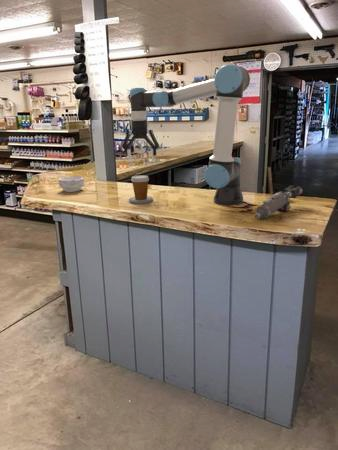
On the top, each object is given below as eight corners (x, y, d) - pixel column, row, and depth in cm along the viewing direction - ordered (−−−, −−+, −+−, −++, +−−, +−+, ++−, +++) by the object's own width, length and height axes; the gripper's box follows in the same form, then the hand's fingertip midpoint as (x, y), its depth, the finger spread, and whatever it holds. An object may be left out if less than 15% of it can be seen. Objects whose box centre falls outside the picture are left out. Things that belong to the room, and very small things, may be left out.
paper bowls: (87, 188, 238) (86, 175, 236) (80, 193, 224) (78, 180, 221) (65, 188, 240) (63, 176, 237) (56, 193, 225) (54, 180, 223)
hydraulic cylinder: (303, 201, 180) (303, 181, 176) (263, 230, 158) (262, 209, 154) (289, 198, 185) (289, 179, 181) (249, 227, 163) (247, 206, 159)
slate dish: (156, 198, 203) (156, 196, 203) (147, 204, 192) (147, 202, 191) (134, 197, 208) (134, 195, 207) (124, 203, 196) (124, 201, 195)
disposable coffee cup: (147, 201, 194) (146, 178, 190) (130, 200, 196) (128, 178, 192) (151, 196, 203) (150, 175, 199) (135, 196, 205) (133, 175, 201)
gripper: (164, 119, 187) (166, 161, 194) (120, 120, 195) (123, 160, 201) (159, 119, 181) (161, 163, 187) (113, 121, 188) (116, 162, 195)
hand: (141, 162), depth 194 cm, fingers open, 13 cm apart
